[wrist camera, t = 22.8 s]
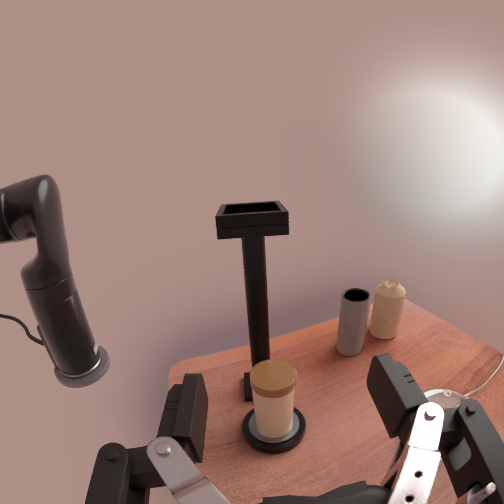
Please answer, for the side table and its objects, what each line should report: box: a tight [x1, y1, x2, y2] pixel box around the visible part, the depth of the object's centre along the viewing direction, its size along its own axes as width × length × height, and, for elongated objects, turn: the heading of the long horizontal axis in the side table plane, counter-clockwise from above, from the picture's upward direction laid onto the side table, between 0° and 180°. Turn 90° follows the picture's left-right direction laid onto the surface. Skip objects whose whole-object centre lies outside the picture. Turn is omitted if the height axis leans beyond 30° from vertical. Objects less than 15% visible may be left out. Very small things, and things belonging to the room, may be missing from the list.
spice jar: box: [250, 359, 297, 438], centre depth 27 cm, size 5×5×9 cm
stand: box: [215, 201, 289, 401], centre depth 32 cm, size 7×7×25 cm
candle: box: [370, 279, 406, 339], centre depth 44 cm, size 6×6×10 cm
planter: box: [336, 288, 371, 356], centre depth 41 cm, size 4×4×10 cm
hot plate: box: [242, 407, 306, 454], centre depth 28 cm, size 8×8×2 cm
